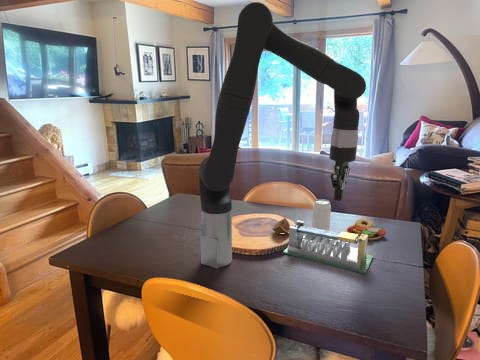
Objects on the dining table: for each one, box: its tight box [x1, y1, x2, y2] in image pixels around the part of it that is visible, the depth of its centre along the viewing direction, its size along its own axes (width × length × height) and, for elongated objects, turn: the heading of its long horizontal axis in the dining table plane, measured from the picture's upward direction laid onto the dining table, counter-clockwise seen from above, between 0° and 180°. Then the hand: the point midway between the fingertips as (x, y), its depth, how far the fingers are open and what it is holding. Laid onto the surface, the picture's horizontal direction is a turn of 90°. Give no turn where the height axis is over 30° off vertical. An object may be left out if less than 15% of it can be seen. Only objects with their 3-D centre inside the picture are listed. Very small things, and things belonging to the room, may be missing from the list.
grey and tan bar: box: [293, 224, 359, 245], centre depth 114 cm, size 21×4×2 cm, turn 60°
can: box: [311, 198, 332, 231], centre depth 131 cm, size 6×6×12 cm
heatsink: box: [282, 220, 374, 275], centre depth 114 cm, size 26×12×9 cm, turn 60°
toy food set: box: [346, 218, 387, 241], centre depth 131 cm, size 13×13×3 cm
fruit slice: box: [271, 217, 291, 234], centre depth 131 cm, size 8×7×5 cm
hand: (338, 200), depth 109 cm, fingers closed
